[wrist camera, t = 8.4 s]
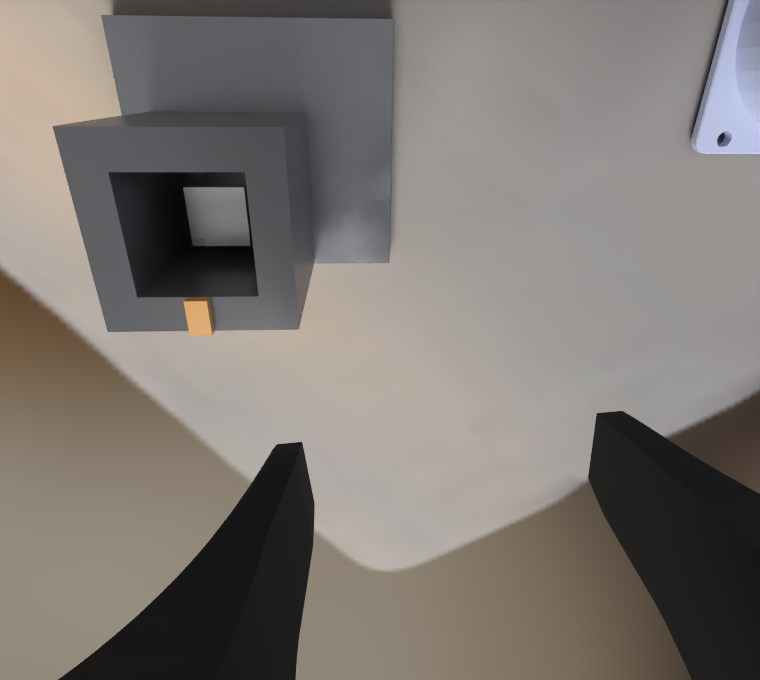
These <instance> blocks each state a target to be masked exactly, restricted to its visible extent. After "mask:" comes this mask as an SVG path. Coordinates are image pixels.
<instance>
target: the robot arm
mask: <svg viewBox="0 0 760 680" xmlns="http://www.w3.org/2000/svg"><path fill="white" fill-rule="evenodd" d="M722 132H724V134H725V138H724V140H723V142H722V143H721V144H719V145H718V144H717V138H718V137H719V135H720V134H721V133H722ZM691 145H692V148H693V149H694V150H695V151H696V152H700V153H705V154H760V0H729V2H728V6H727V10H726V13H725V17H724V21H723V24H722V28H721V32H720V35H719V39H718V43H717V46H716V50H715V54H714V57H713V61H712V65H711V68H710V72H709V76H708V79H707V83H706V87H705V91H704V94H703V98H702V102H701V105H700V109H699V113H698V116H697V120H696V124H695V127H694V131H693V135H692V139H691ZM588 478H589V481H590V483H591V486H592V488H593V491H594V493H595V495H596V498H597V500H598V503H599V505H600V507H601V509H602V512H603V514H604V516H605V518H606V520H607V521H608V523H609V525H610V527H611V528H612V530H613V532H614V533H615V535H616V537H617V539H618V541H619V542H620V544H621V546H622V547H623V549H624V551H625V553H626V554H627V556H628V558H629V559H630V561H631V562H632V564H633V566H634V568H635V570H636V571H637V573H638V575H639V576H640V578H641V580H642V581H643V583H644V585H645V586H646V588H647V590H648V592H649V593H650V595H651V597H652V598H653V600H654V602H655V604H656V606H657V607H658V609H659V611H660V613H661V615H662V617H663V619H664V620H665V622H666V625H667V626H668V629H669V631H670V633H671V635H672V637H673V640H674V642H675V644H676V646H677V648H678V650H679V652H680V655H681V657H682V659H683V661H684V663H685V665H686V668H687V670H688V672H689V674H690V677H691V679H692V680H760V494H759V493H757V492H755V491H753V490H751V489H750V488H748V487H746V486H744V485H742V484H741V483H739V482H737V481H735V480H734V479H732V478H730V477H728V476H726V475H724V474H723V473H721V472H720V471H718V470H716V469H714V468H713V467H711V466H709V465H708V464H706V463H704V462H703V461H701V460H699V459H698V458H696V457H694V456H693V455H691V454H690V453H688V452H686V451H685V450H683V449H682V448H680V447H679V446H677V445H675V444H674V443H672V442H671V441H669V440H668V439H666V438H665V437H663V436H661V435H660V434H658V433H657V432H655V431H654V430H652V429H651V428H649V427H647V426H646V425H644V424H643V423H641V422H640V421H638V420H636V419H635V418H633V417H631V416H630V415H628V414H626V413H625V412H623V411H616V412H606V413H597V416H596V424H595V431H594V438H593V446H592V453H591V461H590V468H589V476H588ZM313 535H314V499H313V494H312V489H311V484H310V479H309V474H308V469H307V464H306V459H305V454H304V449H303V444H302V442H297V443H287V444H277V445H276V446H275V448H274V449H273V450H272V452H271V454H270V455H269V457H268V458H267V460H266V462H265V463H264V465H263V466H262V468H261V470H260V471H259V473H258V474H257V476H256V477H255V479H254V480H253V482H252V483H251V485H250V487H249V488H248V489H247V491H246V492H245V494H244V495H243V497H242V498H241V499H240V501H239V502H238V504H237V505H236V507H235V508H234V509H233V511H232V512H231V514H230V515H229V516H228V517H227V519H226V520H225V521H224V523H223V524H222V525H221V526H220V528H219V529H218V530H217V532H216V533H215V534H214V535H213V537H212V538H211V539H210V540H209V542H208V543H207V544H206V545H205V547H204V548H203V549H202V550H201V551H200V552H199V554H198V555H197V556H196V557H195V558H194V559H193V560H192V562H191V563H190V564H189V565H188V566H187V567H186V568H185V569H184V570H183V571H182V572H181V574H180V575H179V576H178V577H177V578H176V579H175V580H174V581H173V582H172V583H171V584H170V585H169V586H168V587H167V588H166V589H165V590H164V591H163V592H162V593H161V594H160V595H159V596H158V597H157V598H156V599H154V600H153V601H152V602H151V603H150V604H149V605H148V606H147V607H146V608H145V609H144V610H143V611H142V612H141V613H140V614H139V615H138V616H137V617H135V618H134V619H133V620H132V621H131V622H130V623H129V624H127V625H126V626H125V627H124V628H123V629H122V630H120V631H119V632H118V633H117V634H116V635H115V636H114V637H112V638H111V639H110V640H109V641H107V642H106V643H105V644H104V645H103V646H101V647H100V648H99V649H98V650H97V651H95V652H94V653H93V654H91V655H90V656H89V657H88V658H86V659H85V660H84V661H83V662H81V663H80V664H79V665H77V666H76V667H75V668H73V669H72V670H71V671H69V672H68V673H67V674H65V675H64V676H63V677H61V678H60V679H59V680H295V677H296V660H297V650H298V641H299V633H300V627H301V620H302V614H303V607H304V600H305V594H306V588H307V581H308V575H309V568H310V562H311V555H312V548H313Z"/></svg>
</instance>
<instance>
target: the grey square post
mask: <svg viewBox="0 0 760 680" xmlns="http://www.w3.org/2000/svg"><path fill="white" fill-rule="evenodd" d="M183 190H184V196H185V202H186V208H187V214H188V220H189V226H190V232H191V238H192V244H193V246H251V244H252V243H253V241H252V232H251V223H250V214H249V205H248V196H247V187H246V178H245V172H207V173H205V174H204V175H202V176H201V177H199V178H197V179H196V180H194V181H192V182H191V183H189V184H188V185H186V186H184V187H183Z"/></svg>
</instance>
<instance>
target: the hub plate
mask: <svg viewBox="0 0 760 680" xmlns="http://www.w3.org/2000/svg"><path fill="white" fill-rule="evenodd" d="M101 16H102V21H103V26H104V31H105V36H106V40H107V45H108V50H109V55H110V60H111V64H112V69H113V74H114V79H115V84H116V89H117V93H118V98H119V103H120V108H121V113H122V116H123V115H129V114H136V113H142V112H149V111H154V112H306V115H307V133H308V151H309V170H310V188H311V206H312V224H313V243H314V263H389V260H390V203H391V145H392V87H393V29H394V19H356V18H284V17H212V16H141V15H101ZM189 173H190V179H191V182H192V181H194V180H196V179H197V178H199V177H201V176H202V175H204V174H205V173H207V172H189Z"/></svg>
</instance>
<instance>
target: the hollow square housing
mask: <svg viewBox="0 0 760 680" xmlns="http://www.w3.org/2000/svg"><path fill="white" fill-rule="evenodd" d="M53 129H54V133H55V137H56V141H57V144H58V148H59V152H60V155H61V159H62V163H63V167H64V170H65V174H66V178H67V182H68V185H69V189H70V193H71V196H72V200H73V204H74V208H75V211H76V215H77V219H78V223H79V226H80V230H81V234H82V237H83V241H84V245H85V249H86V252H87V256H88V260H89V263H90V267H91V271H92V275H93V278H94V282H95V286H96V290H97V293H98V297H99V301H100V304H101V308H102V312H103V316H104V319H105V323H106V327H107V331H108V332H131V331H189V334H190V336H202V335H213V333H214V331H215V330H296V329H299V326H300V321H301V317H302V313H303V308H304V304H305V300H306V295H307V291H308V287H309V282H310V278H311V274H312V269H313V265H314V243H313V224H312V206H311V188H310V170H309V151H308V133H307V115H306V112H154V111H149V112H142V113H136V114H129V115H123V116H116V117H110V118H103V119H97V120H90V121H84V122H77V123H71V124H64V125H58V126H53ZM189 172H245V178H246V187H247V196H248V205H249V214H250V223H251V232H252V241H253V243H252V244H251V246H193V244H192V238H191V232H190V226H189V220H188V214H187V208H186V202H185V196H184V190H183V187H184V186H186V185H188V184H189V183H191V179H190V173H189Z"/></svg>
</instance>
